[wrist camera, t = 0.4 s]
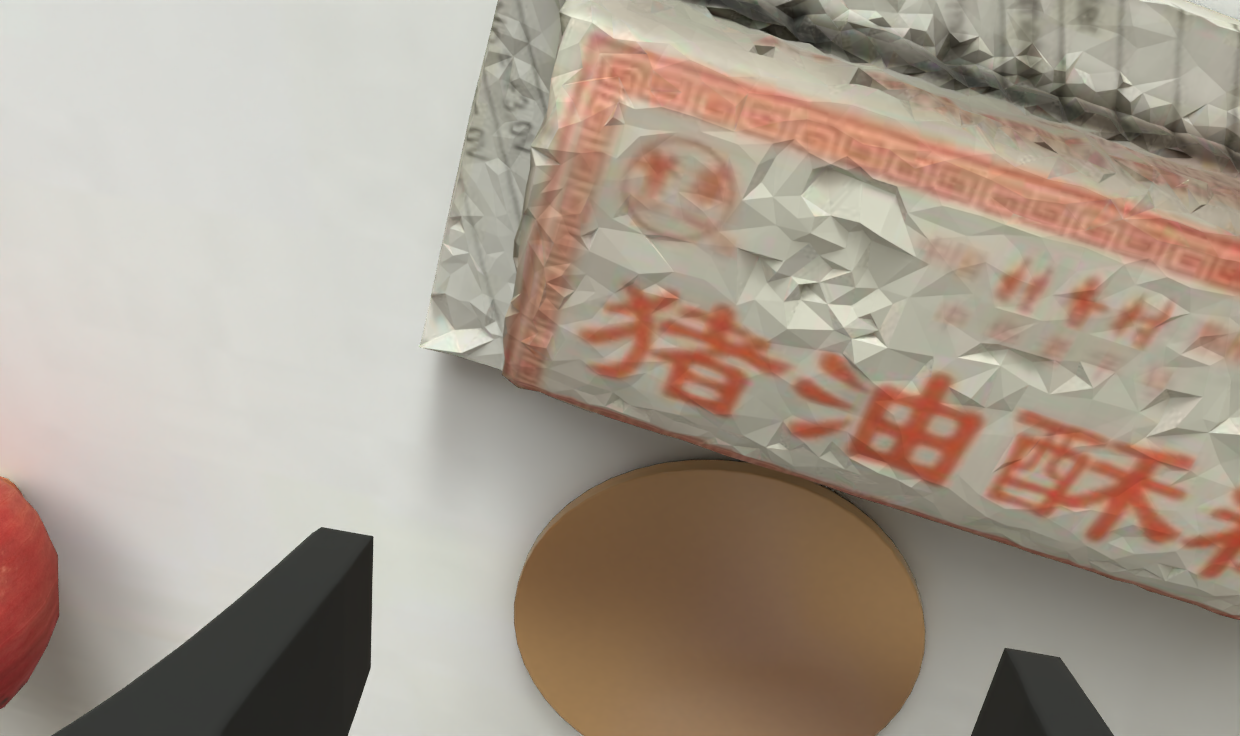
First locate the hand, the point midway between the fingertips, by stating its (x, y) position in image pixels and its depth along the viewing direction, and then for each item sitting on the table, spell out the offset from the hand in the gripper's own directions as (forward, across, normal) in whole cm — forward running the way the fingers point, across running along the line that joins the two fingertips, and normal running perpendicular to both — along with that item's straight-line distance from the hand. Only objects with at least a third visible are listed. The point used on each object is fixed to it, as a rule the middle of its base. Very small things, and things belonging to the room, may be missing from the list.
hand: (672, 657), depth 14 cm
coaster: (+10, -1, +8) cm, 13 cm away
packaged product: (+10, -4, -2) cm, 11 cm away
